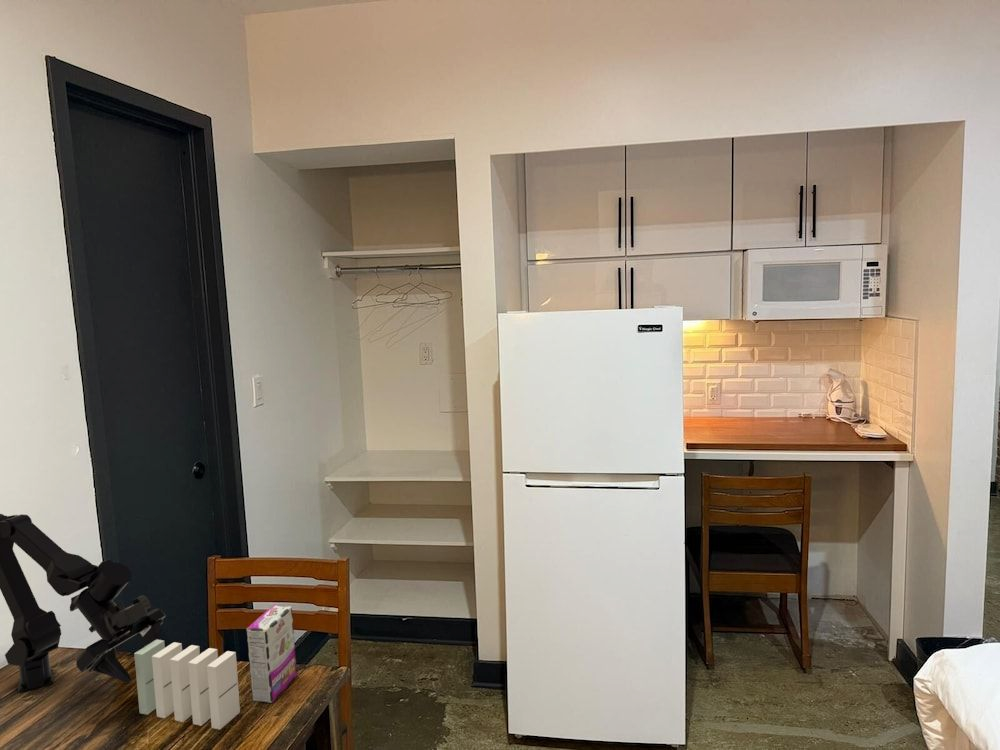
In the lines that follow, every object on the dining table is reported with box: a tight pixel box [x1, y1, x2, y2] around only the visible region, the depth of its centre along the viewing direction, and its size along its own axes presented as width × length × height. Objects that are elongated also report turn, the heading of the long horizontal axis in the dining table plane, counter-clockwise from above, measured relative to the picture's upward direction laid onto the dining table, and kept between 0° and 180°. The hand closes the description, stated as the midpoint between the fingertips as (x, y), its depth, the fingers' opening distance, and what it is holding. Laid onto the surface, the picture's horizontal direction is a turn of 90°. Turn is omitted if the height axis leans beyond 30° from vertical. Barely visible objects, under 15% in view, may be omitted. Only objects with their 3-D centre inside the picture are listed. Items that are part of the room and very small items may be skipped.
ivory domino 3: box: [188, 647, 219, 727], centre depth 142 cm, size 2×6×13 cm, turn 162°
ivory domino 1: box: [152, 641, 183, 719], centre depth 145 cm, size 2×6×13 cm, turn 162°
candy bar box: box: [246, 604, 298, 704], centre depth 152 cm, size 11×5×16 cm, turn 168°
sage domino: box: [133, 639, 166, 715], centre depth 147 cm, size 2×6×13 cm, turn 162°
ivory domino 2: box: [170, 644, 201, 723], centre depth 144 cm, size 2×6×13 cm, turn 162°
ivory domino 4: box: [207, 650, 241, 730], centre depth 141 cm, size 2×6×13 cm, turn 162°
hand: (147, 669), depth 147 cm, fingers open, 9 cm apart
